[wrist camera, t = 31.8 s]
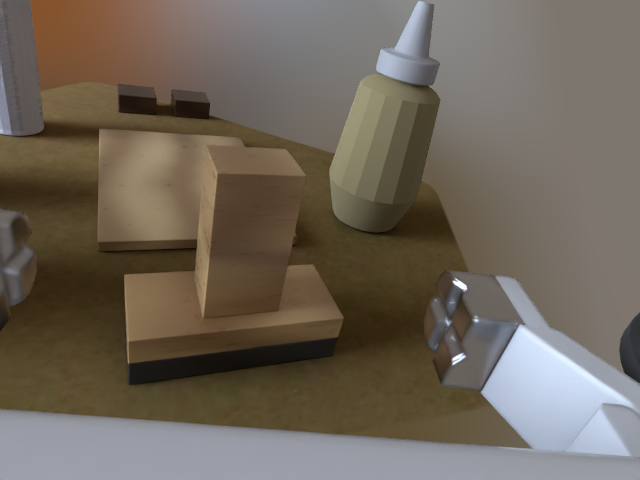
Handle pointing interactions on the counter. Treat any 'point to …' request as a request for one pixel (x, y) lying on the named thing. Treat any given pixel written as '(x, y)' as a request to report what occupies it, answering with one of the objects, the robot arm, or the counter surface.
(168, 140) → the board
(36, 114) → the bottle
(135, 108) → the chip
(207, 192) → the brush
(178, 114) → the dark brown square block
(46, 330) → the counter surface
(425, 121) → the squeeze bottle
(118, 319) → the counter surface
